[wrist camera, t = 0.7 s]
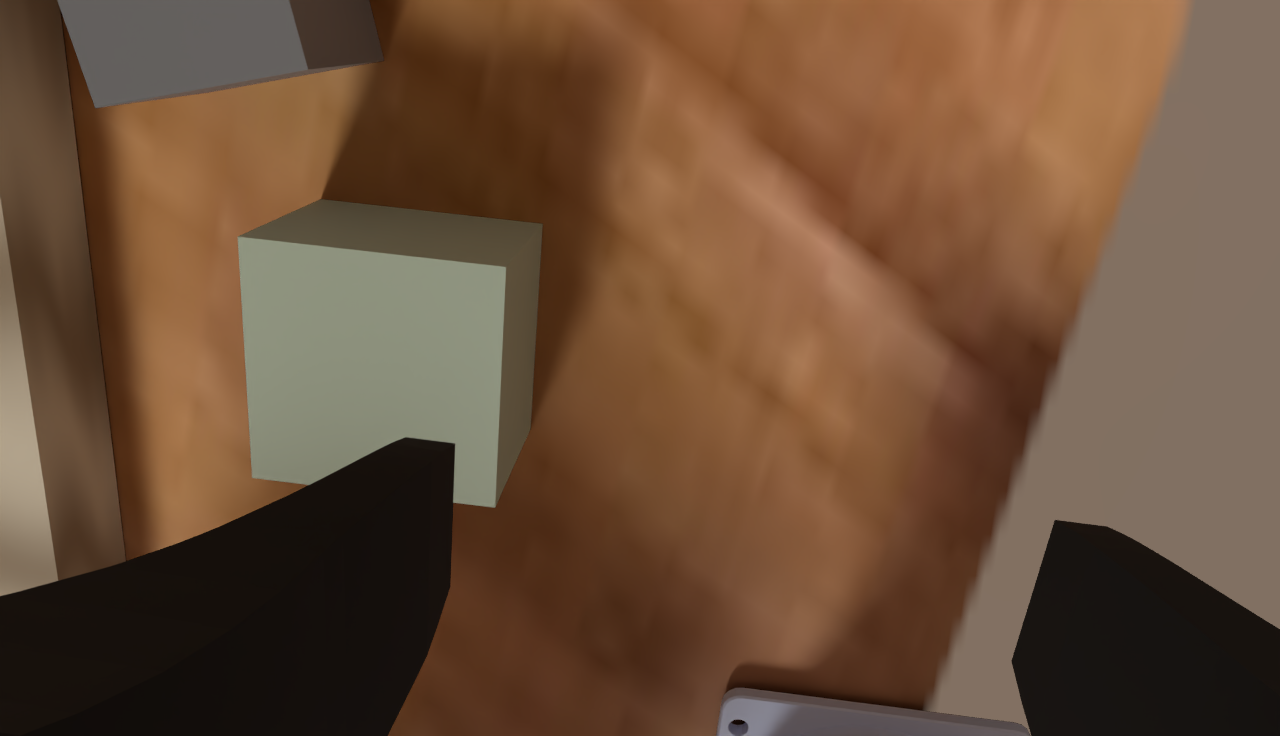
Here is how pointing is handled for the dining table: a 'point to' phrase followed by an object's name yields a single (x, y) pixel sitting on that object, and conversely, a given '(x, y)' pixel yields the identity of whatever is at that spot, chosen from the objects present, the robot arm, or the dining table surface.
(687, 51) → the dining table surface
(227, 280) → the dining table surface
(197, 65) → the grey cube
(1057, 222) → the dining table surface
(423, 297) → the sage block
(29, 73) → the maple batten
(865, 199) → the dining table surface
